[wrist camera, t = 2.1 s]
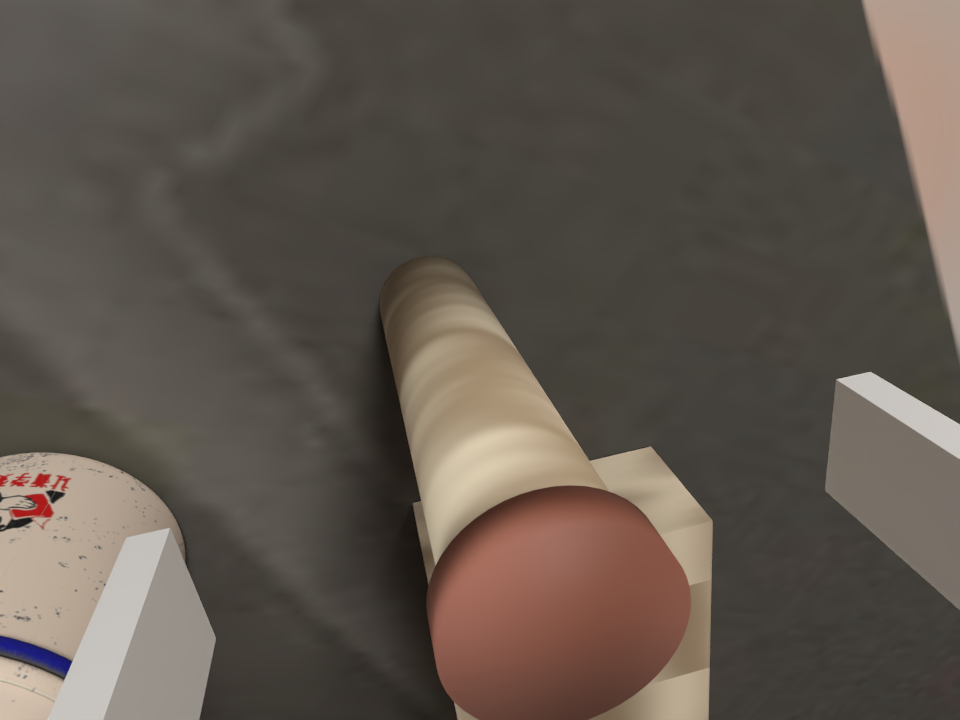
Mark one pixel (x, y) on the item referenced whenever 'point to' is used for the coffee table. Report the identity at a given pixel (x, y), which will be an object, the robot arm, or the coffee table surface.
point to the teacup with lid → (59, 564)
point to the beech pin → (519, 522)
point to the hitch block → (688, 533)
